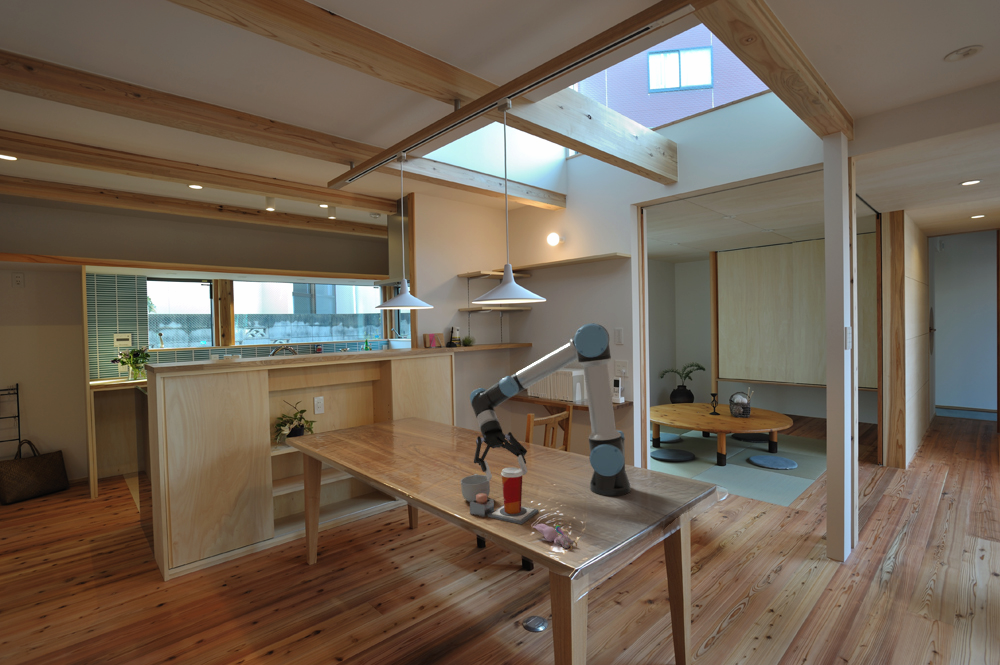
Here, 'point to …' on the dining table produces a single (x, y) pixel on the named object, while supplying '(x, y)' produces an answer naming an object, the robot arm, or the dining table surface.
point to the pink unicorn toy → (555, 535)
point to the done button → (481, 498)
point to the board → (513, 515)
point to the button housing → (482, 507)
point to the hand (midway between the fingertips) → (508, 476)
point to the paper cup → (512, 489)
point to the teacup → (474, 486)
